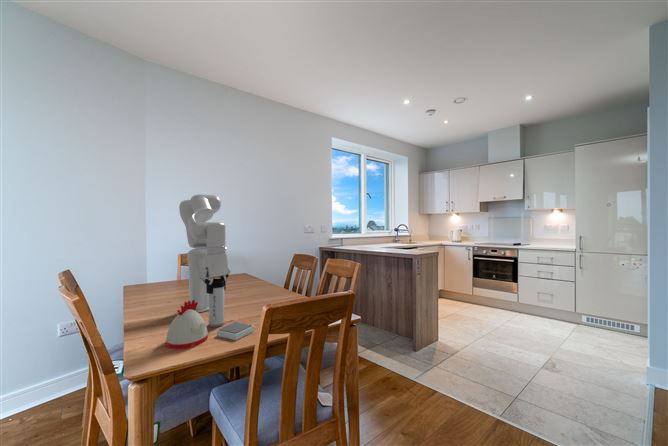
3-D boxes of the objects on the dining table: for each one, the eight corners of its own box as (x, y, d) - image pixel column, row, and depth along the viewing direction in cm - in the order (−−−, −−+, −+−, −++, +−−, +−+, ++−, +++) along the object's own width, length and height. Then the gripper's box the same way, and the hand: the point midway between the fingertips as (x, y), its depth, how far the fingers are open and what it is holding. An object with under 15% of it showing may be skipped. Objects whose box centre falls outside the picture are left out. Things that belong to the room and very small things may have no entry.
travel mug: (217, 321, 126) (217, 277, 126) (227, 323, 122) (227, 278, 123) (205, 325, 120) (205, 279, 121) (214, 328, 117) (214, 281, 117)
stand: (216, 336, 109) (216, 329, 109) (235, 327, 118) (235, 321, 118) (236, 340, 105) (236, 333, 105) (254, 331, 114) (253, 325, 114)
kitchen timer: (215, 337, 108) (215, 298, 109) (184, 351, 96) (184, 308, 96) (190, 331, 114) (190, 295, 114) (157, 345, 101) (157, 304, 101)
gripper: (225, 248, 131) (225, 286, 131) (193, 252, 115) (193, 295, 115) (237, 249, 128) (237, 288, 128) (206, 252, 112) (206, 297, 112)
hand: (216, 291), depth 122 cm, fingers closed on travel mug, 6 cm apart
